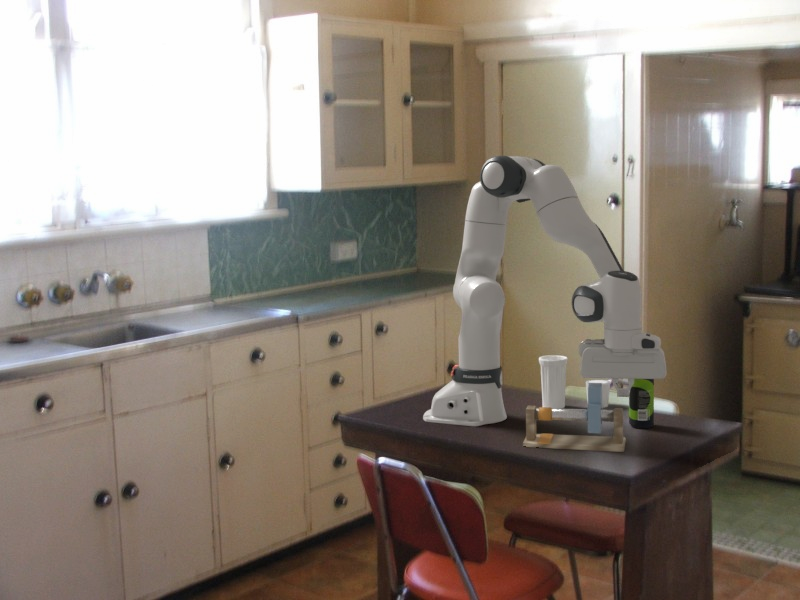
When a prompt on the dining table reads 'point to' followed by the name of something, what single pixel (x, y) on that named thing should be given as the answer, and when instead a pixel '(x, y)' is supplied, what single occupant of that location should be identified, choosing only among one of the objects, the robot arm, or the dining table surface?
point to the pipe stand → (573, 440)
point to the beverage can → (641, 403)
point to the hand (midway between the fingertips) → (623, 396)
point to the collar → (594, 407)
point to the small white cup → (604, 390)
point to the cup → (553, 380)
